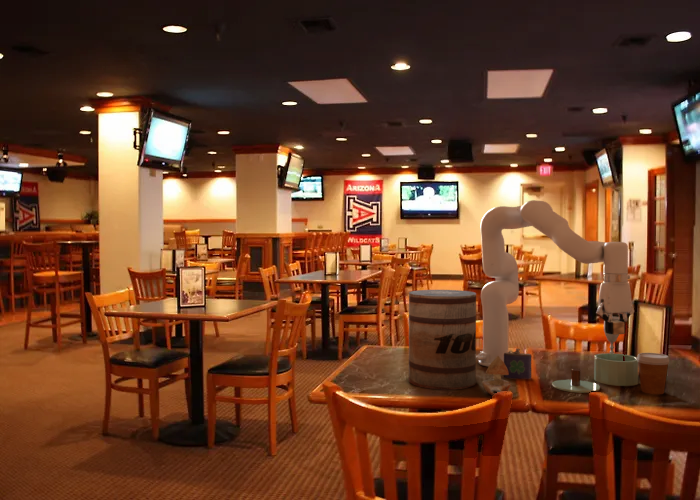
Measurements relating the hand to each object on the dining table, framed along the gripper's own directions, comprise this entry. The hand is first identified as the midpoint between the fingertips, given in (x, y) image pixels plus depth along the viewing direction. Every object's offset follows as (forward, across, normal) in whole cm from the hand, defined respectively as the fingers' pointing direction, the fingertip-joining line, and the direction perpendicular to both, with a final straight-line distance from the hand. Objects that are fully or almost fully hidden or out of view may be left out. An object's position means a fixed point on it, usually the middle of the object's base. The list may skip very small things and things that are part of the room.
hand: (615, 332), depth 214 cm
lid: (+16, +18, +4) cm, 24 cm away
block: (0, 0, 0) cm, 0 cm away
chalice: (+17, -16, -24) cm, 33 cm away
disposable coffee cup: (+17, -2, +15) cm, 23 cm away
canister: (+17, 0, 0) cm, 17 cm away
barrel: (+16, +56, -16) cm, 60 cm away
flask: (+17, +30, -12) cm, 36 cm away
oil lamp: (+17, +46, +4) cm, 49 cm away
